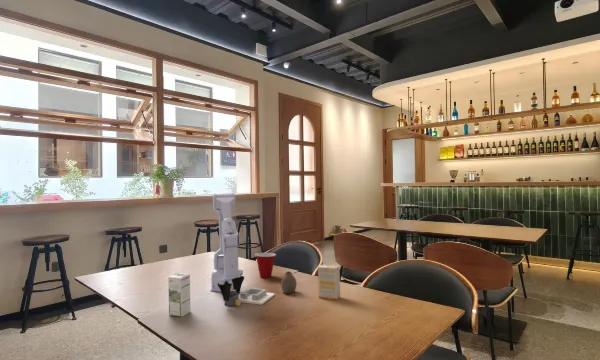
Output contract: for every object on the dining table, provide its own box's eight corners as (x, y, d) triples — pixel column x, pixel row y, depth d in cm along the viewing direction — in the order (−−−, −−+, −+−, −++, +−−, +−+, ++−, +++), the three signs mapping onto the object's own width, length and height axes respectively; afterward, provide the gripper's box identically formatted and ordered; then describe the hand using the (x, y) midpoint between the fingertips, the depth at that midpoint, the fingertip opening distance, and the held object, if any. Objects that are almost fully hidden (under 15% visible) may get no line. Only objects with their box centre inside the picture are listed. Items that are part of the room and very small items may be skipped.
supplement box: (340, 296, 142) (340, 265, 142) (337, 300, 137) (336, 268, 137) (322, 294, 145) (321, 263, 145) (318, 297, 141) (317, 266, 141)
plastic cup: (280, 275, 176) (280, 252, 176) (267, 280, 167) (267, 256, 167) (264, 272, 182) (264, 250, 182) (251, 277, 173) (250, 254, 173)
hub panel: (231, 300, 139) (231, 294, 139) (246, 292, 150) (246, 285, 150) (261, 304, 134) (261, 297, 134) (274, 295, 145) (274, 288, 145)
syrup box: (191, 311, 128) (190, 273, 128) (181, 317, 122) (180, 277, 122) (178, 310, 130) (178, 272, 130) (168, 315, 124) (167, 276, 124)
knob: (224, 305, 134) (224, 290, 134) (230, 301, 138) (230, 288, 138) (236, 306, 132) (236, 292, 132) (242, 303, 136) (241, 289, 136)
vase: (294, 294, 145) (294, 274, 145) (279, 294, 146) (278, 273, 146) (298, 289, 152) (297, 270, 152) (283, 289, 153) (282, 269, 153)
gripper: (229, 268, 127) (230, 304, 127) (248, 260, 141) (249, 292, 140) (213, 267, 130) (214, 302, 129) (234, 259, 143) (234, 291, 143)
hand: (231, 297), depth 135 cm, fingers open, 7 cm apart
